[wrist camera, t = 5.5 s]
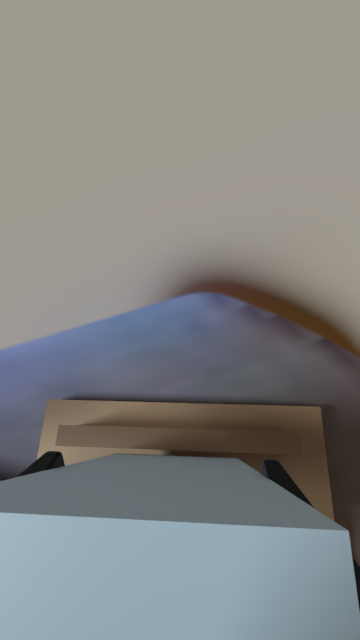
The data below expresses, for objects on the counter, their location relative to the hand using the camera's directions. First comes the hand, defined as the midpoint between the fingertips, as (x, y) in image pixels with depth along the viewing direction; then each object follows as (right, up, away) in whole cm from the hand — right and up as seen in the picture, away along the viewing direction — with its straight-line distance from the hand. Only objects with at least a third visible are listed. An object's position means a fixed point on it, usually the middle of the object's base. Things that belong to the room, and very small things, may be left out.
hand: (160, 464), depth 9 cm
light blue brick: (0, -4, +5) cm, 7 cm away
